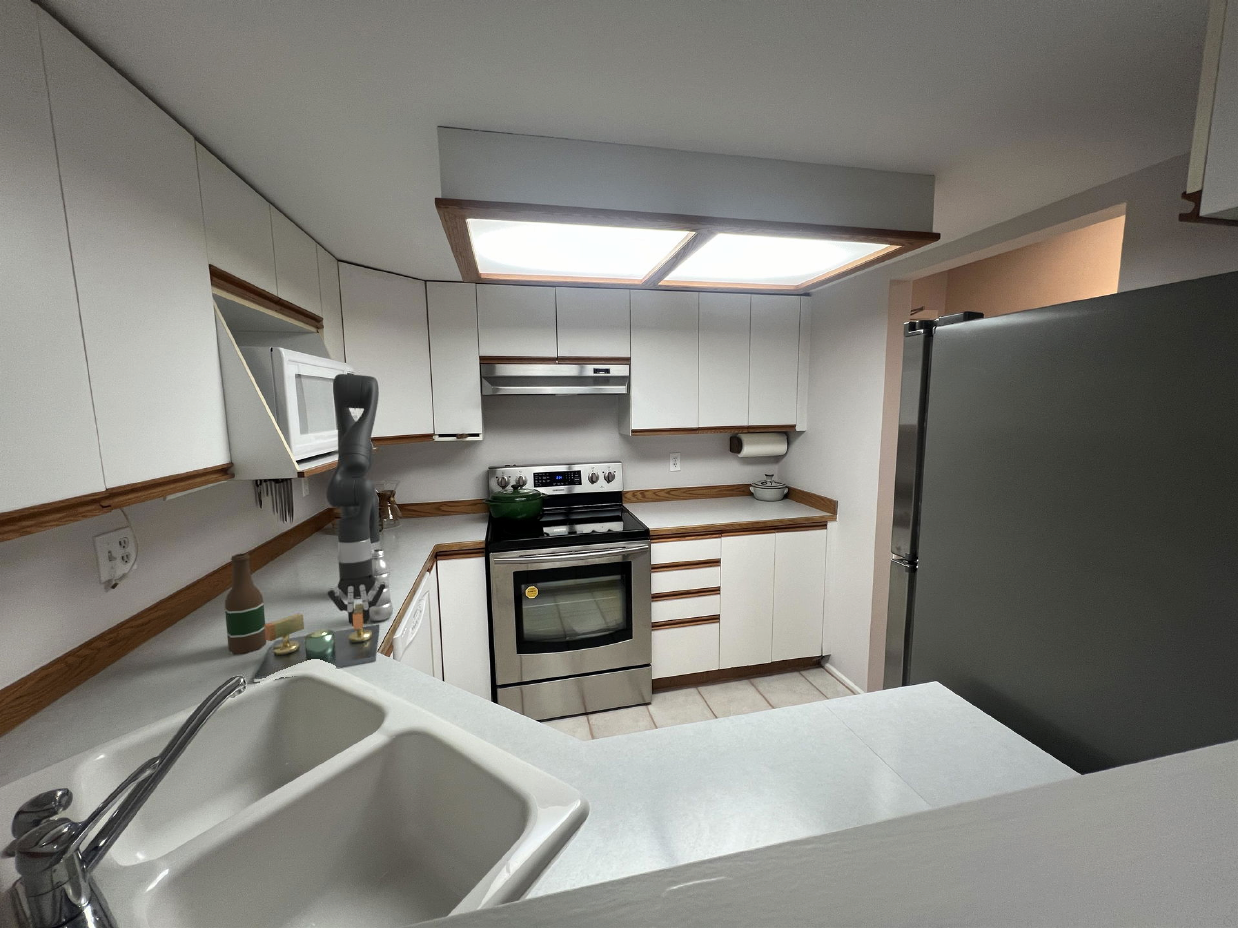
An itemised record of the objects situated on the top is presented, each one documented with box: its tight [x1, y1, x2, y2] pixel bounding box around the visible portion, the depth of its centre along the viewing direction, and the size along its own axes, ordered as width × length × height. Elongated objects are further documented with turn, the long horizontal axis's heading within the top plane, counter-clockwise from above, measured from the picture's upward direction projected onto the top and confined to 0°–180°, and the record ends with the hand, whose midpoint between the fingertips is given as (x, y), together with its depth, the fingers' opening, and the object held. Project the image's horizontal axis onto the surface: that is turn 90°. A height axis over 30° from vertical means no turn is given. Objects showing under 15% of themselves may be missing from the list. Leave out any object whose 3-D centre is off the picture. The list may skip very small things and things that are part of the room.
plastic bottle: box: [368, 548, 394, 622], centre depth 143 cm, size 6×7×20 cm
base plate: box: [253, 624, 381, 680], centre depth 123 cm, size 20×24×7 cm
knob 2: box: [349, 603, 372, 642], centre depth 128 cm, size 8×5×8 cm
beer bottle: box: [224, 553, 267, 655], centre depth 125 cm, size 8×8×24 cm
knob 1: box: [264, 613, 305, 655], centre depth 121 cm, size 8×5×8 cm
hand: (359, 623), depth 128 cm, fingers closed on knob 2, 2 cm apart
